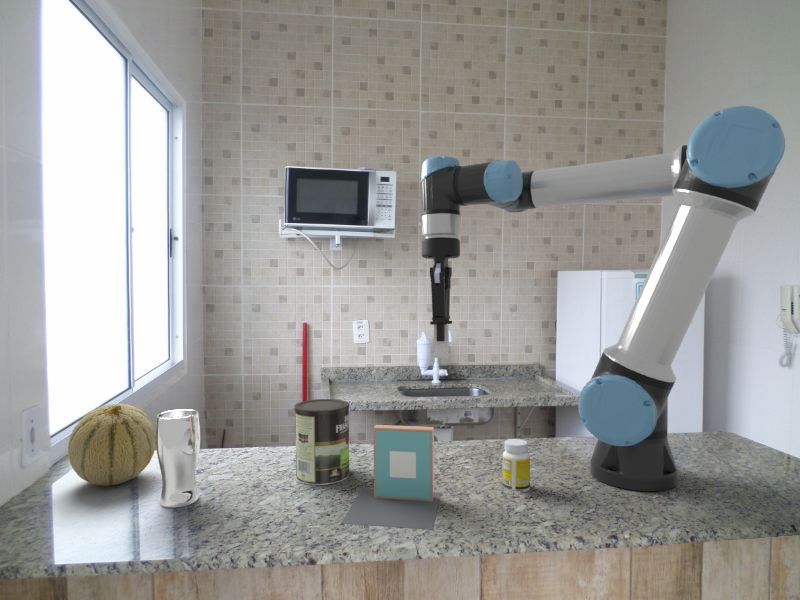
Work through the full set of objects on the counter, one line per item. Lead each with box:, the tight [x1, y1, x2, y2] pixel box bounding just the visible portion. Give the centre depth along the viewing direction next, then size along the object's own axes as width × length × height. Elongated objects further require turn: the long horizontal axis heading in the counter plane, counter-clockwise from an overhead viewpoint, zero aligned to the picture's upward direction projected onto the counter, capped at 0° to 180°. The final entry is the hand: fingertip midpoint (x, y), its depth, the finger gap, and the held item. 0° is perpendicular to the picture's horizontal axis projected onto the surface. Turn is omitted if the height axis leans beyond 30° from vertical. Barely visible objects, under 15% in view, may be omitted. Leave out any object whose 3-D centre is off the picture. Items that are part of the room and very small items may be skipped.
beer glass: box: [155, 408, 201, 509], centre depth 92 cm, size 7×7×15 cm
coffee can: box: [293, 398, 350, 486], centre depth 102 cm, size 10×10×14 cm
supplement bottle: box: [502, 438, 531, 493], centre depth 97 cm, size 5×5×8 cm
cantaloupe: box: [67, 403, 156, 487], centre depth 101 cm, size 15×15×15 cm
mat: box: [340, 487, 442, 531], centre depth 88 cm, size 14×14×1 cm
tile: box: [373, 424, 435, 501], centre depth 91 cm, size 10×2×12 cm, turn 81°
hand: (441, 357), depth 107 cm, fingers closed
